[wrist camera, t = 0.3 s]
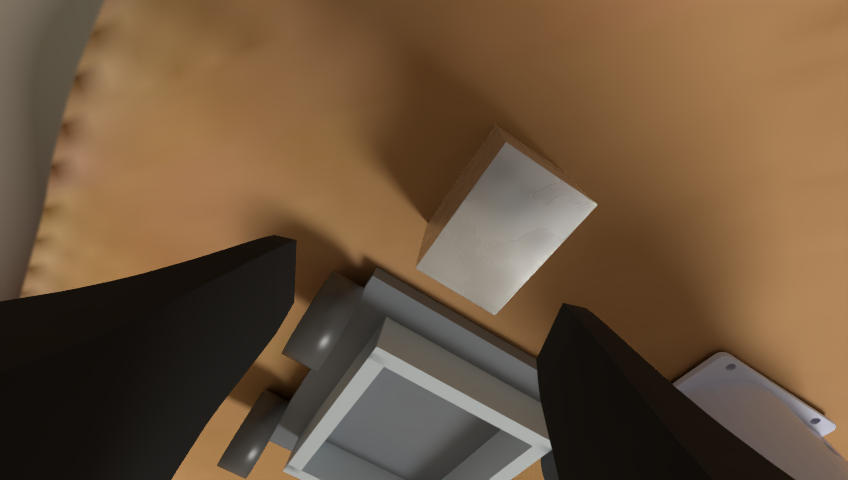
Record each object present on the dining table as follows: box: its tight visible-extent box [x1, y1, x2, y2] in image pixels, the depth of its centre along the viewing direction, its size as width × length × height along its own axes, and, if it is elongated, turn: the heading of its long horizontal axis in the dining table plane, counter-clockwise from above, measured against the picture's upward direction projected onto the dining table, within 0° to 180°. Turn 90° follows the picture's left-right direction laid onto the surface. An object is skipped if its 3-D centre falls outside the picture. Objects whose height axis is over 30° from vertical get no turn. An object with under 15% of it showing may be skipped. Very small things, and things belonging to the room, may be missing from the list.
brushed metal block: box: [415, 125, 598, 315], centre depth 15 cm, size 4×6×5 cm, turn 148°
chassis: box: [217, 267, 559, 480], centre depth 23 cm, size 20×18×5 cm
